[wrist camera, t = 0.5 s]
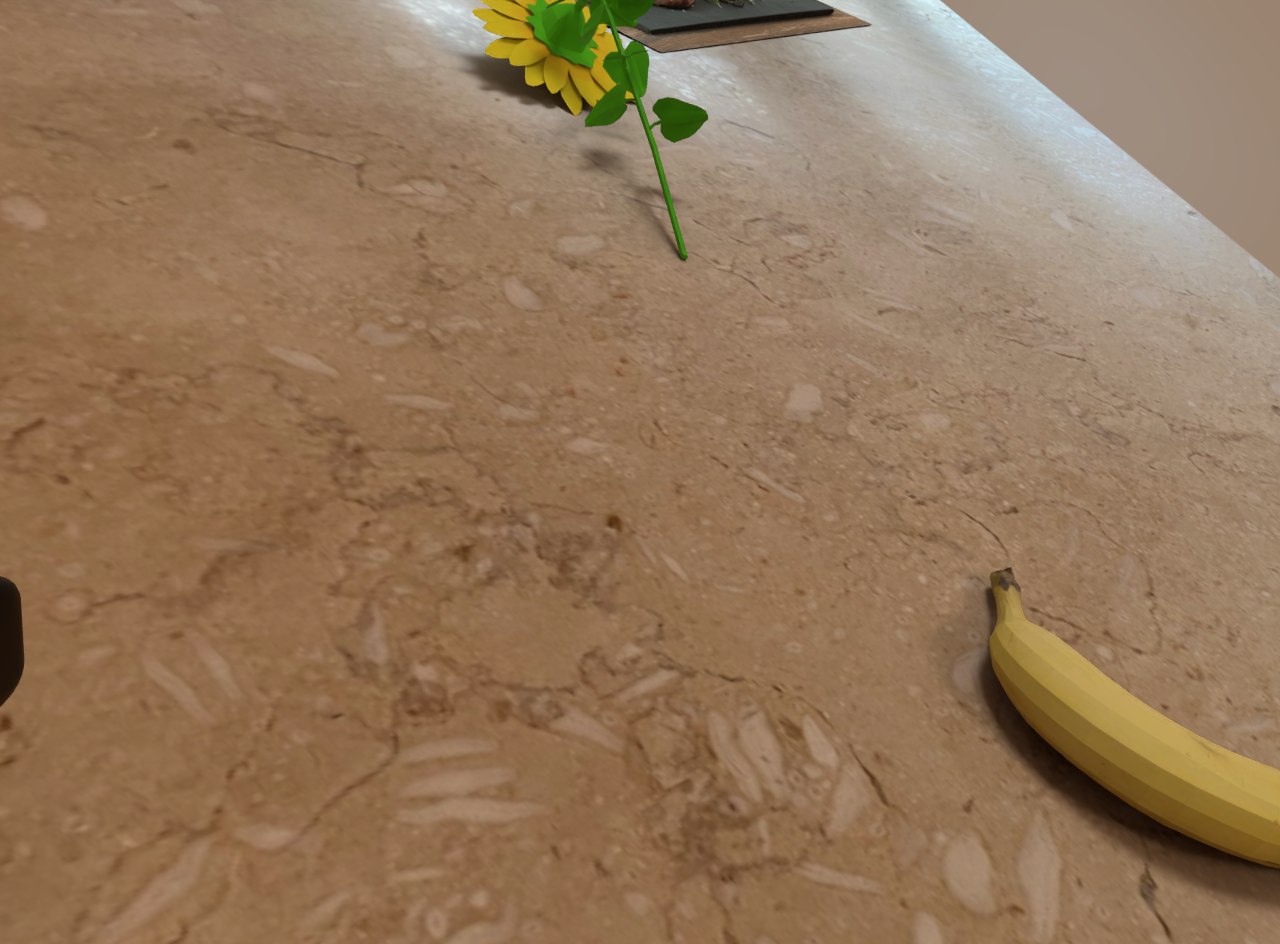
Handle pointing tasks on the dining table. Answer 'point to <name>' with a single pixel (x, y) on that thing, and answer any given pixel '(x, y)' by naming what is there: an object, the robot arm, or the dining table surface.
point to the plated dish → (731, 21)
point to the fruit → (1132, 740)
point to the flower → (589, 64)
